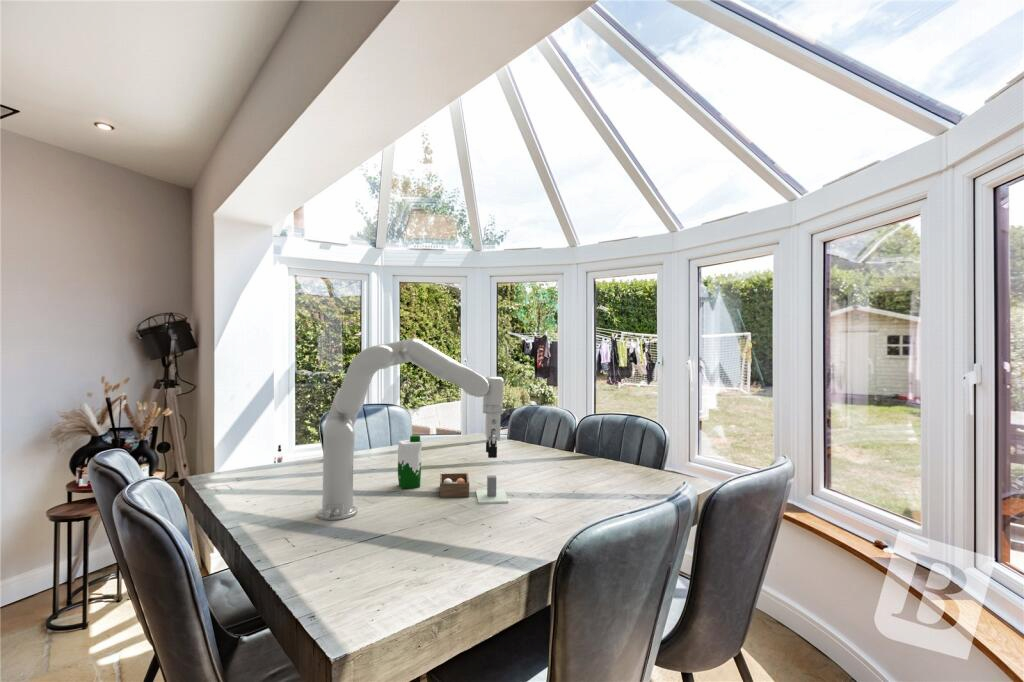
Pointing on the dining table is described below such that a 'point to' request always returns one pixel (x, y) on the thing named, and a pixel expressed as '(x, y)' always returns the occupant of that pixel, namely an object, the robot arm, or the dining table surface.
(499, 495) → the lid
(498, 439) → the robot arm
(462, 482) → the ball terracotta
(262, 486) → the dining table surface
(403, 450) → the milk carton
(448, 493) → the box
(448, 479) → the ball cream
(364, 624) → the dining table surface
